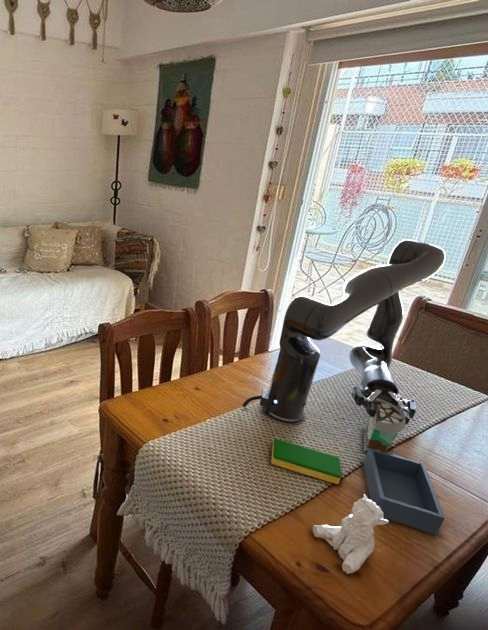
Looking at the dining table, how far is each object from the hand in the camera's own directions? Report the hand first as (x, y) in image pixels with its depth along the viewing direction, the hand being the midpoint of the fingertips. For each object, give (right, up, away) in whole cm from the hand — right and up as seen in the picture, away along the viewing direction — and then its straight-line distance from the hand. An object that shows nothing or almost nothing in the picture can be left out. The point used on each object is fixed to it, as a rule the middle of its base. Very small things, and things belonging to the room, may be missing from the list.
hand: (388, 417), depth 106 cm
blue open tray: (-7, -14, -12) cm, 20 cm away
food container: (-1, -8, +2) cm, 8 cm away
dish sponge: (-23, -10, -4) cm, 26 cm away
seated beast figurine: (-26, -19, -24) cm, 40 cm away
